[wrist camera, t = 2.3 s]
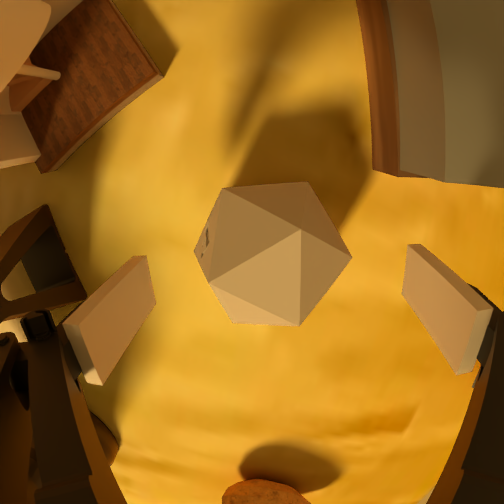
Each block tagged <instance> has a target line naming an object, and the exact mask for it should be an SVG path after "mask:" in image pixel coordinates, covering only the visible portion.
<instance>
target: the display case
mask: <svg viewBox="0 0 504 504" xmlns="http://www.w3.org/2000/svg"><path fill="white" fill-rule="evenodd" d="M163 78H164V77H163V75H162V74H161V72H160V71H159V69H158V68H157V66H156V65H155V63H154V62H153V60H152V59H151V57H150V56H149V54H148V53H147V51H146V50H145V48H144V47H143V45H142V44H141V42H140V41H139V39H138V38H137V36H136V35H135V33H134V32H133V30H132V29H131V27H130V26H129V25H128V23H127V22H126V20H125V19H124V17H123V16H122V14H121V13H120V11H119V10H118V8H117V7H116V5H115V4H114V3H113V1H112V0H0V169H2V168H6V167H11V166H16V165H21V164H26V163H32V162H35V163H36V165H37V167H38V169H39V171H40V173H41V174H42V173H46V172H51V171H55V170H57V169H58V168H59V167H60V166H61V165H62V164H63V163H64V162H65V161H66V160H67V159H68V158H69V157H70V156H71V155H72V154H73V153H74V152H75V151H76V150H77V149H78V148H79V147H80V146H81V145H82V144H83V143H84V142H85V141H86V140H87V139H89V138H90V137H91V136H92V135H93V134H94V133H95V132H96V131H97V130H98V129H100V128H101V127H102V126H103V125H104V124H105V123H106V122H108V121H109V120H110V119H111V118H112V117H113V116H115V115H116V114H117V113H118V112H119V111H121V110H122V109H123V108H124V107H126V106H127V105H128V104H129V103H131V102H132V101H133V100H134V99H136V98H137V97H138V96H139V95H141V94H142V93H143V92H145V91H146V90H147V89H149V88H150V87H151V86H153V85H154V84H156V83H157V82H158V81H160V80H161V79H163Z"/></svg>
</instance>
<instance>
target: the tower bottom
mask: <svg viewBox="0 0 504 504" xmlns="http://www.w3.org/2000/svg"><path fill="white" fill-rule="evenodd" d="M356 3H357V8H358V14H359V20H360V26H361V32H362V39H363V46H364V53H365V61H366V70H367V79H368V90H369V102H370V116H371V134H372V167H373V170H376V171H380V172H383V173H386V174H390V175H393V176H396V177H418V178H428V177H425V176H421V175H417V174H414V173H410V172H406V171H402V170H400V116H399V96H398V82H397V71H396V61H395V52H394V44H393V36H392V29H391V23H390V17H389V11H388V5H387V0H356Z"/></svg>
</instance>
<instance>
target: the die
mask: <svg viewBox="0 0 504 504" xmlns="http://www.w3.org/2000/svg"><path fill="white" fill-rule="evenodd" d="M194 253H195V255H196V257H197V260H198V262H199V264H200V266H201V268H202V270H203V273H204V275H205V277H206V279H207V281H208V283H209V285H210V287H211V288H212V290H213V292H214V293H215V295H216V297H217V298H218V300H219V302H220V303H221V305H222V307H223V308H224V310H225V311H226V313H227V315H228V316H229V318H230V320H231V321H232V323H243V324H260V325H280V326H300V325H301V324H302V322H303V321H304V320H305V319H306V317H307V316H308V315H309V314H310V312H311V311H312V310H313V309H314V307H315V306H316V305H317V304H318V302H319V301H320V300H321V298H322V297H323V296H324V295H325V293H326V292H327V291H328V289H329V288H330V287H331V285H332V284H333V283H334V281H335V280H336V279H337V278H338V276H339V275H340V274H341V272H342V271H343V270H344V268H345V267H346V265H347V264H348V263H349V261H350V260H351V259H352V256H351V254H350V252H349V251H348V249H347V247H346V245H345V243H344V242H343V240H342V238H341V236H340V235H339V233H338V231H337V229H336V228H335V226H334V224H333V222H332V221H331V219H330V217H329V216H328V214H327V212H326V210H325V209H324V207H323V205H322V204H321V202H320V200H319V199H318V197H317V195H316V194H315V192H314V191H313V189H312V187H311V186H310V184H309V182H291V183H277V184H263V185H251V186H240V187H229V188H222V190H221V192H220V194H219V196H218V198H217V200H216V203H215V205H214V207H213V209H212V211H211V214H210V216H209V218H208V220H207V222H206V225H205V227H204V229H203V231H202V234H201V236H200V238H199V240H198V243H197V245H196V247H195V249H194Z"/></svg>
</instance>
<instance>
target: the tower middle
mask: <svg viewBox="0 0 504 504" xmlns="http://www.w3.org/2000/svg"><path fill="white" fill-rule="evenodd" d="M387 5H388V11H389V17H390V23H391V29H392V36H393V44H394V52H395V61H396V71H397V82H398V96H399V116H400V170H402V171H406V172H410V173H414V174H417V175H421V176H425V177H428V178H432V179H435V180H438V181H442V182H447V183H459V184H470V185H480V186H489V187H498V188H504V0H387Z"/></svg>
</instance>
